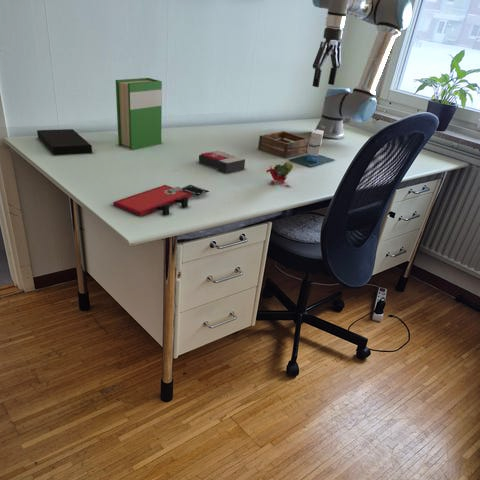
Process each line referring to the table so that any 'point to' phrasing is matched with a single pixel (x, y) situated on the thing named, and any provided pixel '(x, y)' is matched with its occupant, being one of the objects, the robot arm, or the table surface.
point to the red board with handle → (158, 199)
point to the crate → (283, 144)
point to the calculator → (222, 161)
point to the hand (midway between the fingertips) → (323, 85)
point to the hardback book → (139, 112)
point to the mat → (308, 163)
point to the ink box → (314, 145)
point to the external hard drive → (64, 142)
